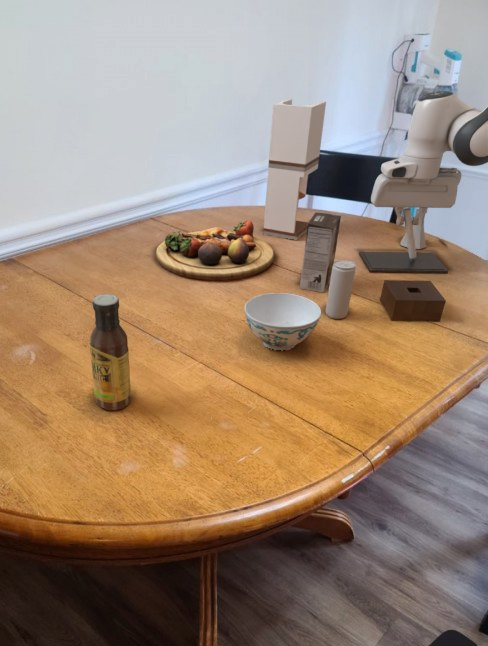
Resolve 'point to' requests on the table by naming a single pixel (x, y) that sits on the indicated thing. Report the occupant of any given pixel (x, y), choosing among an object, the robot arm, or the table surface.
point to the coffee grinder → (291, 165)
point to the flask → (417, 234)
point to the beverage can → (340, 289)
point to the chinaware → (281, 319)
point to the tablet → (402, 262)
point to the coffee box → (319, 251)
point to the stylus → (409, 234)
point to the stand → (412, 300)
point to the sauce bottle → (109, 355)
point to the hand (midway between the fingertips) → (407, 224)
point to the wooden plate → (215, 253)
